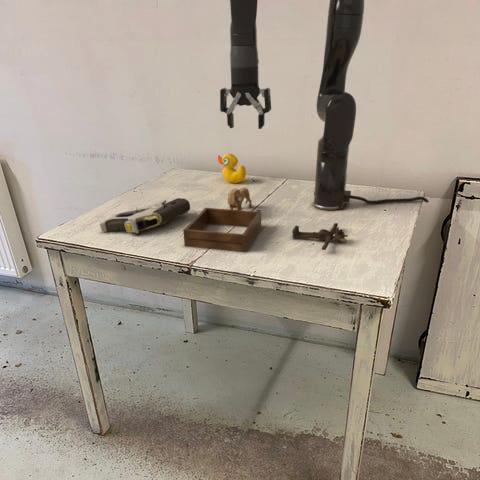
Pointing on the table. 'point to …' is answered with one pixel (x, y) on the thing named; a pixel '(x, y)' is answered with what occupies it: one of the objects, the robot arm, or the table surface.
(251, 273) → the table surface
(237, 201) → the lion figurine
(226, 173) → the duckling
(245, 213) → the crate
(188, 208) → the toy blaster
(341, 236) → the brown humanoid figurine
